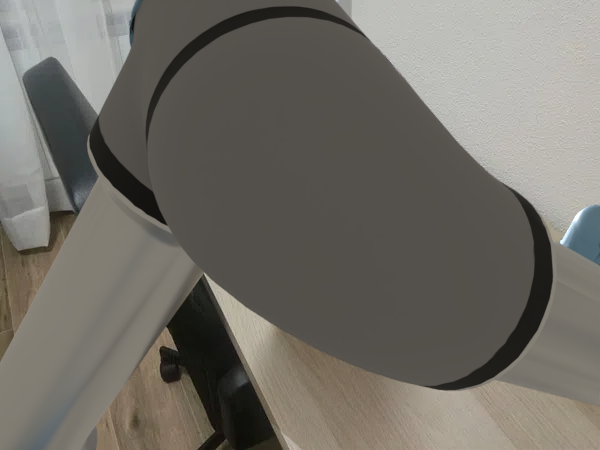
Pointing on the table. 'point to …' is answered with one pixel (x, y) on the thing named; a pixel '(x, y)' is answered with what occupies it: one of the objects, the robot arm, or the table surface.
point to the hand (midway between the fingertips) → (323, 201)
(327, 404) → the table surface
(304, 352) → the table surface
